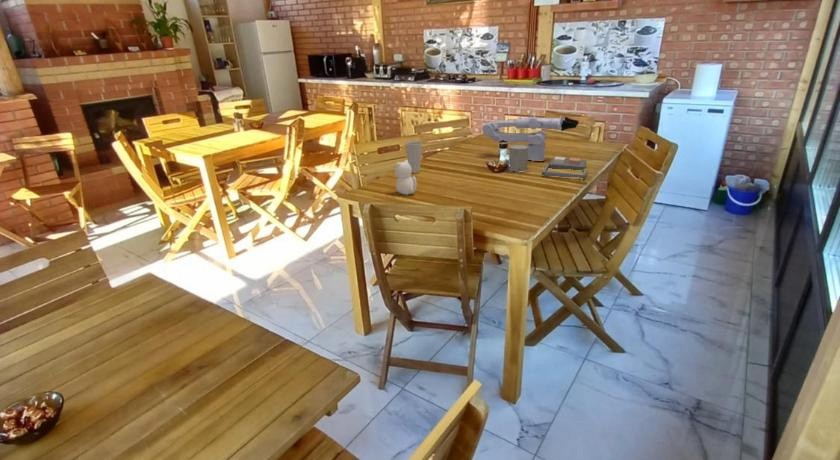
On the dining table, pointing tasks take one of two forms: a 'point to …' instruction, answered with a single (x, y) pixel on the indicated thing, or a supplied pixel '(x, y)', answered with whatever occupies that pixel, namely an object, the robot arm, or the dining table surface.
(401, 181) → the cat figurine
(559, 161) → the cream tile
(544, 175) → the tray
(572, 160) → the terracotta tile
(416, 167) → the cup
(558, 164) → the plate
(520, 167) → the grey canister
